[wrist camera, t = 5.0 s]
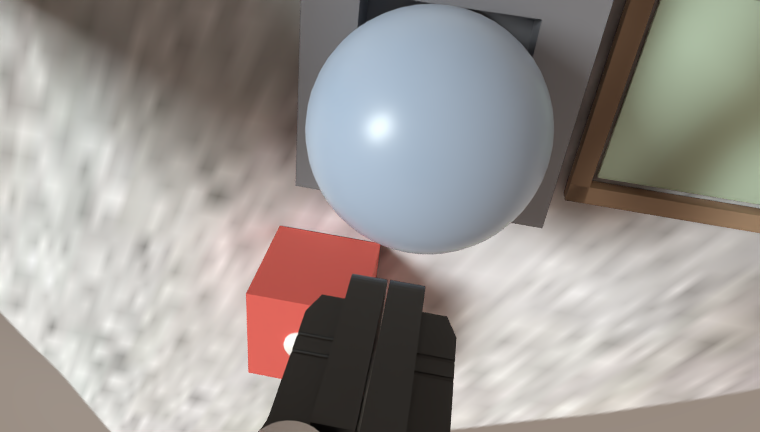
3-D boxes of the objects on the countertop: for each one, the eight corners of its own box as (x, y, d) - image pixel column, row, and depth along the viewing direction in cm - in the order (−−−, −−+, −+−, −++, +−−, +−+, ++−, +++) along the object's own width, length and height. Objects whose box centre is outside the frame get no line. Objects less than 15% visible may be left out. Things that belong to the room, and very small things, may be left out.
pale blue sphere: (334, 146, 26) (273, 280, 19) (347, -47, 22) (274, 34, 15) (517, 177, 25) (524, 326, 18) (569, -15, 21) (604, 85, 14)
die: (279, 300, 33) (247, 374, 29) (279, 225, 31) (245, 295, 26) (371, 318, 33) (352, 395, 29) (380, 243, 30) (361, 317, 26)
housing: (313, 150, 28) (295, 185, 25) (324, -97, 22) (303, -82, 20) (538, 188, 27) (542, 228, 25) (610, -57, 21) (624, -36, 19)
